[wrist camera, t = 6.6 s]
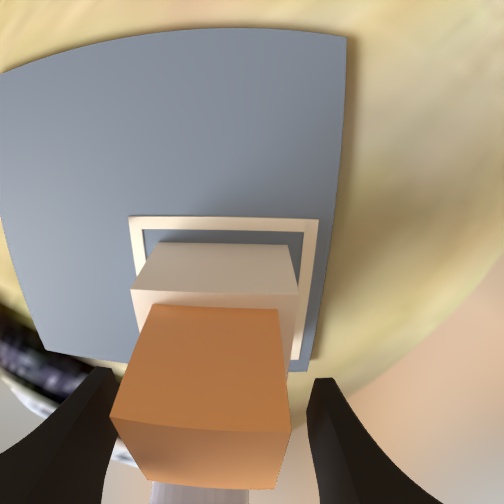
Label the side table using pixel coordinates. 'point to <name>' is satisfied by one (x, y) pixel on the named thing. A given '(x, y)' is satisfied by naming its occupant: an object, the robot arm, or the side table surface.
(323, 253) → the board
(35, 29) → the side table surface
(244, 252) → the base block
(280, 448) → the orange block
